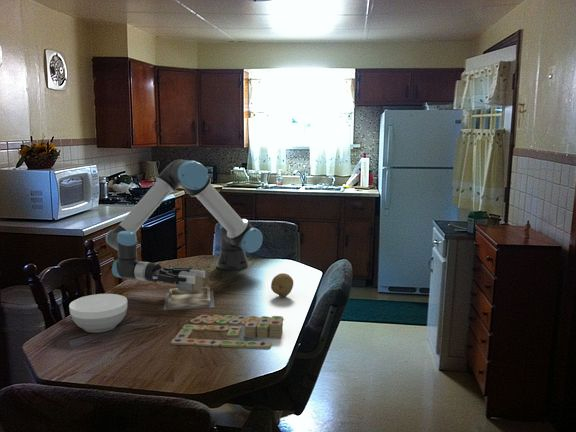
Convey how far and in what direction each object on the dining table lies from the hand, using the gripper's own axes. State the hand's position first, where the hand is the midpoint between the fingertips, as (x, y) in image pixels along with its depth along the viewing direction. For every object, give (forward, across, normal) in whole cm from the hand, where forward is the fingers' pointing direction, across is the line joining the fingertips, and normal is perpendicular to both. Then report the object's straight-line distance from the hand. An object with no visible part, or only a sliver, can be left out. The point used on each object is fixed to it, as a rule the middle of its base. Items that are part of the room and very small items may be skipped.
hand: (199, 277), depth 205 cm
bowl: (-21, +34, -11) cm, 41 cm away
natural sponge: (+29, -16, -10) cm, 34 cm away
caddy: (-5, 0, -10) cm, 11 cm away
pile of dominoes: (+23, +23, -11) cm, 34 cm away
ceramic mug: (-5, -1, -6) cm, 8 cm away
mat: (-5, 0, -10) cm, 11 cm away
